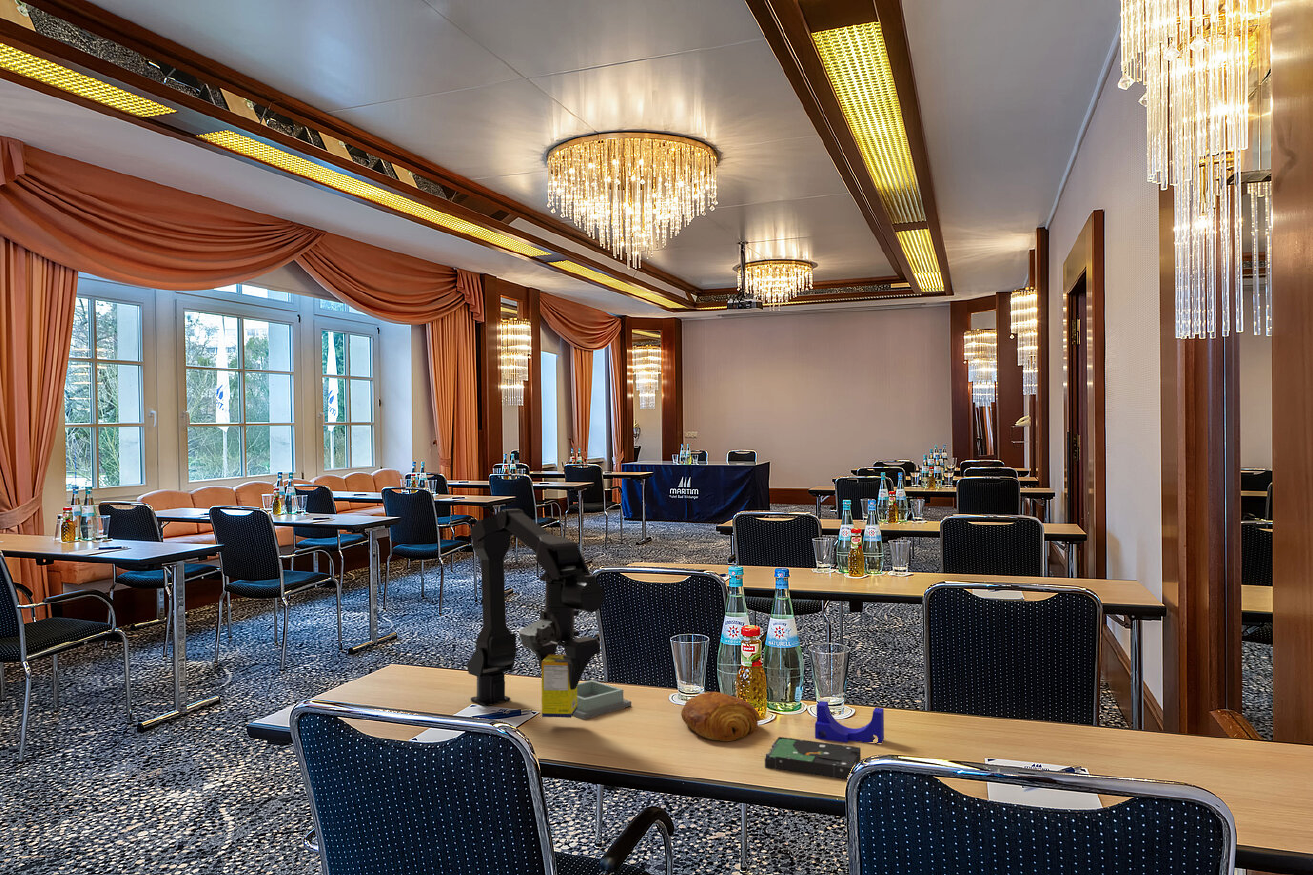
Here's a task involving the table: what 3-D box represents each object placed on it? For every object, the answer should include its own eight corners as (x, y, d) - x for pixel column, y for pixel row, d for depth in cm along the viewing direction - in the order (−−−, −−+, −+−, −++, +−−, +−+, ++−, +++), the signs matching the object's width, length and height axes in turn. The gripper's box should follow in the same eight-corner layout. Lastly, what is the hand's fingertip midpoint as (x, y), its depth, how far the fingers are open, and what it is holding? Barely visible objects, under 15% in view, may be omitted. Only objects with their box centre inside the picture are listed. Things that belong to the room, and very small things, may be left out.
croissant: (701, 758, 150) (702, 716, 149) (672, 720, 164) (673, 683, 163) (771, 747, 154) (773, 706, 153) (737, 711, 169) (738, 674, 168)
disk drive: (860, 762, 143) (777, 750, 148) (861, 746, 143) (778, 735, 148) (852, 784, 133) (763, 770, 139) (852, 767, 133) (764, 754, 139)
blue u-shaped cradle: (815, 739, 154) (814, 707, 154) (820, 732, 158) (820, 700, 158) (880, 748, 149) (879, 715, 149) (883, 740, 153) (883, 708, 153)
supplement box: (577, 709, 163) (577, 654, 163) (571, 718, 157) (571, 661, 157) (548, 708, 163) (548, 653, 164) (541, 717, 157) (541, 660, 158)
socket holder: (545, 705, 174) (545, 689, 174) (592, 693, 183) (592, 677, 183) (583, 719, 165) (583, 702, 165) (631, 706, 174) (631, 689, 174)
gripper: (499, 604, 162) (498, 683, 161) (555, 617, 148) (555, 703, 148) (544, 597, 170) (544, 673, 169) (602, 609, 156) (602, 691, 156)
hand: (559, 684), depth 160 cm, fingers closed on supplement box, 8 cm apart
